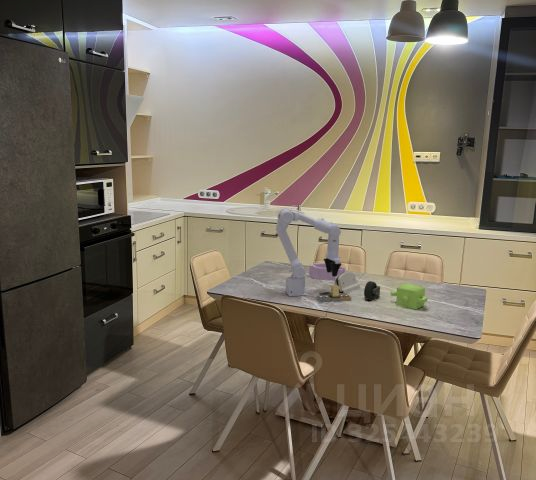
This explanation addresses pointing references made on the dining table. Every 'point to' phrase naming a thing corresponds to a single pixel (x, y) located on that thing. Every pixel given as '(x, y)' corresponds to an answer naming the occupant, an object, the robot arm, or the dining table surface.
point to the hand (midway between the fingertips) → (331, 274)
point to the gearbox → (410, 296)
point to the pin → (334, 291)
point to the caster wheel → (371, 290)
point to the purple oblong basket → (323, 272)
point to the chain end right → (343, 297)
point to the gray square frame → (324, 293)
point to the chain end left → (327, 298)
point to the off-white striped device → (346, 282)
